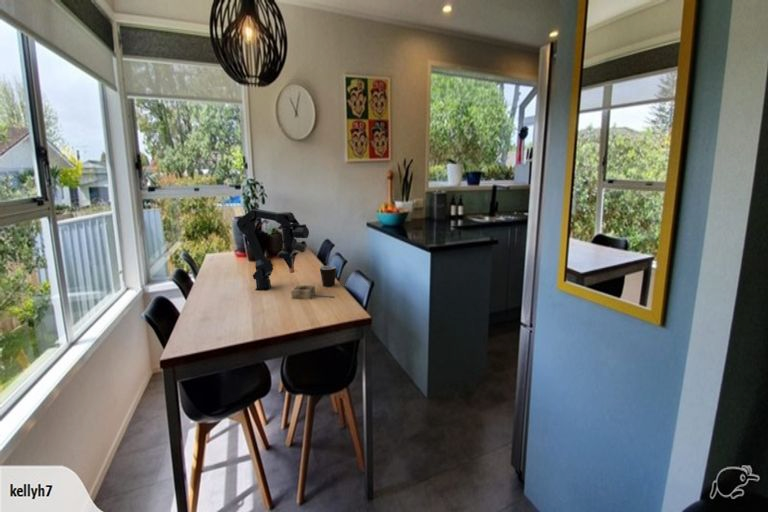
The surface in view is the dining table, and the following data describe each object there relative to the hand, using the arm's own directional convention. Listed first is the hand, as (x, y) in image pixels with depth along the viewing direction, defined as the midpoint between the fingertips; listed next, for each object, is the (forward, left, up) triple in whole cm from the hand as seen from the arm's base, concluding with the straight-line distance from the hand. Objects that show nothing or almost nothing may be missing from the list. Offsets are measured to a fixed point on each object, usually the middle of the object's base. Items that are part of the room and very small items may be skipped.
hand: (291, 267), depth 188 cm
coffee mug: (+16, +13, -13) cm, 24 cm away
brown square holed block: (+8, -6, -13) cm, 16 cm away
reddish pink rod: (0, 0, -3) cm, 2 cm away
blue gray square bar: (+18, -7, -13) cm, 23 cm away
